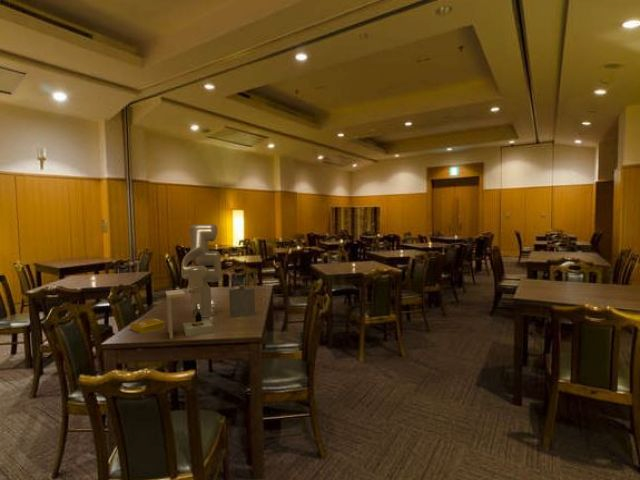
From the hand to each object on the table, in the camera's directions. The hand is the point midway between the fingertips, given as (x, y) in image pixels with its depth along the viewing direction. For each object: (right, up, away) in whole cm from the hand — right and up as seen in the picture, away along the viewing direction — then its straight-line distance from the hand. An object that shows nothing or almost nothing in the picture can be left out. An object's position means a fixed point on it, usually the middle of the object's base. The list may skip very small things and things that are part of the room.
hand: (197, 319), depth 217 cm
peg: (0, -7, 0) cm, 7 cm away
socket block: (-4, -7, -2) cm, 8 cm away
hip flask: (+19, -5, +32) cm, 38 cm away
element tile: (-32, -8, +8) cm, 34 cm away
